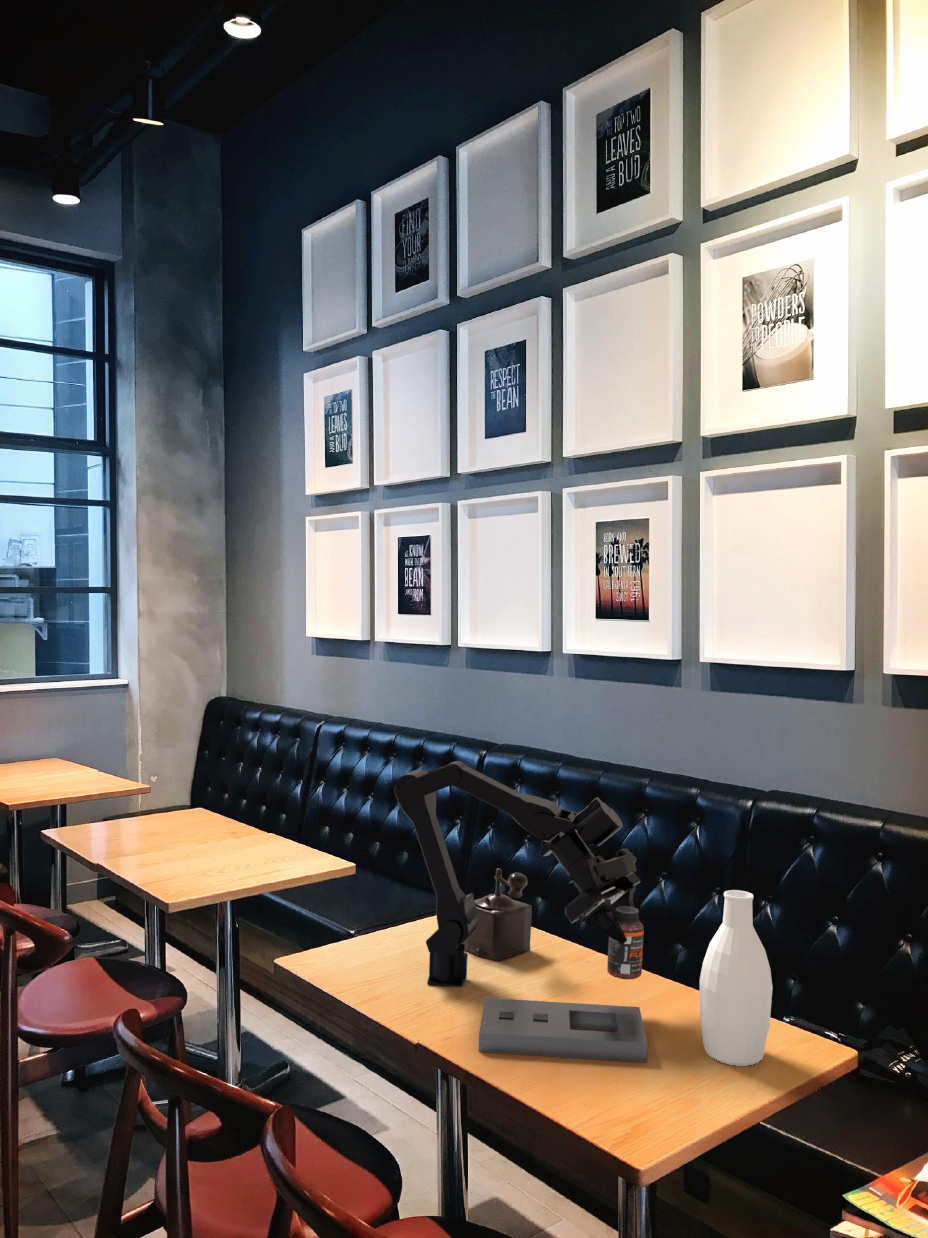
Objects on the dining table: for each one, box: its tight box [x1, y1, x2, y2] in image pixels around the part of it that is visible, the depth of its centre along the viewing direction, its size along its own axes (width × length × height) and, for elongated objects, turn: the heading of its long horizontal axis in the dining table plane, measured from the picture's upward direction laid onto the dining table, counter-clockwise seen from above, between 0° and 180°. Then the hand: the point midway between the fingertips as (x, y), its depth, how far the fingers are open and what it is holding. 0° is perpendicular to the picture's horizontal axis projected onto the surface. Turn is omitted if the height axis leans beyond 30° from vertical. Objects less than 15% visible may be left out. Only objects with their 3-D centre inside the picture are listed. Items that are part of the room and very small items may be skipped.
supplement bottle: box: [606, 906, 645, 980], centre depth 173 cm, size 6×6×11 cm
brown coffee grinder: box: [462, 867, 533, 962], centre depth 201 cm, size 16×11×18 cm
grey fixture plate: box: [478, 997, 648, 1063], centre depth 163 cm, size 26×14×3 cm, turn 85°
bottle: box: [699, 889, 773, 1067], centre depth 158 cm, size 11×11×25 cm
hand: (633, 937), depth 173 cm, fingers closed on supplement bottle, 6 cm apart
